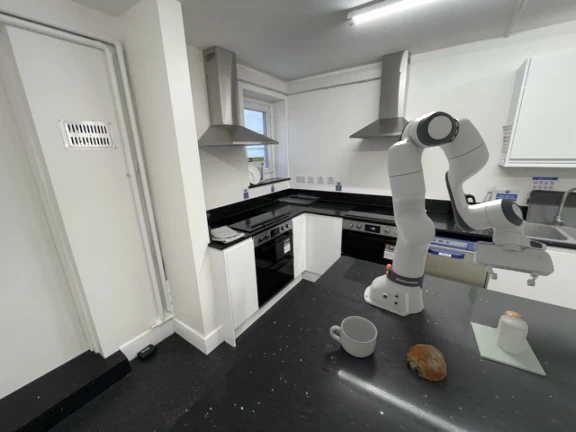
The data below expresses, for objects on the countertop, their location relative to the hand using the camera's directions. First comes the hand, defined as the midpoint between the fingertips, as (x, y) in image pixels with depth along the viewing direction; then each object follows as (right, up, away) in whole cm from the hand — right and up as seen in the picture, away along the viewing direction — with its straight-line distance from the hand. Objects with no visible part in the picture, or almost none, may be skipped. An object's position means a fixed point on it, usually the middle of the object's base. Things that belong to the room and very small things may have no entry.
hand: (512, 282), depth 79 cm
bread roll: (-35, -22, -11) cm, 43 cm away
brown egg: (+6, -16, +7) cm, 18 cm away
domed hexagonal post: (-6, -19, -5) cm, 20 cm away
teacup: (-54, -20, -4) cm, 58 cm away
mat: (-7, -19, -4) cm, 21 cm away
